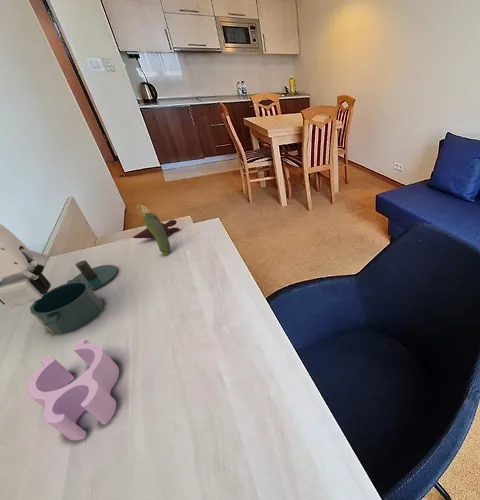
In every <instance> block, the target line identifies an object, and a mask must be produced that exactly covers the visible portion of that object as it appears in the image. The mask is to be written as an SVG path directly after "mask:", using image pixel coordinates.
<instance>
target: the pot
mask: <svg viewBox="0 0 480 500" xmlns="http://www.w3.org/2000/svg"><path fill="white" fill-rule="evenodd" d="M103 307H104V303H103V301H102V300H101V298H100V297H99V296H98V294H97V293H96V292H95V290H93V289H92V288H91V287H90V285H89V284H88V283H87V282H83V281H80V280H79V279H78V278H76V279H73V278H72V279H69V280H67V282H66V283H63V284H61V285H59V286H55V287H53V288H52V289H49V290H48V292H47V293H46V294H43V296H42V298H41V299H39V300H36V301H33V303H32V304H31V306H30V307H29V310H30V314H31V315H32V316H33V317H34V318H35V319H36V320H37V321H38V322H39V323H40V324H41V325H42V326H43V327H44V328H45V329H46V330H47V331H48V332H50V333H51V334H55V335H60V334H67V333H71V332H74V331H76V330H78V329H80V328H82V327H85V326H86V325H88V324H89V323H91V322H92V321H93V320H95V318H97V317H98V316H99V315H100V314H101V312H102V311H103Z"/></svg>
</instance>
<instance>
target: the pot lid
mask: <svg viewBox="0 0 480 500" xmlns="http://www.w3.org/2000/svg"><path fill="white" fill-rule="evenodd" d="M75 266H76V268H77V269H78V271H79V272H80V273H79V274H77V275H75V276H74V277H73V278H72V279H76V278H78V279H79V280H80V281H83V282H87V283H88V284H89V285H90V287H91V288H92V289H93V291H95V290H97V289H99V288H101V287H102V286H105V285H106V284H107V283H109V282H110V281H111V280H112V279H114V278H115V276H116V275H117V274H118V268H117V267H116V266H115V265H111V264H103V265H98V266H94V267H92V266H91V265H90V264H89V263H88V261H87V260H85V259H84V260H80V261H78V262H77V263H75Z"/></svg>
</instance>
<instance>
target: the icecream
mask: <svg viewBox="0 0 480 500" xmlns="http://www.w3.org/2000/svg"><path fill="white" fill-rule="evenodd" d="M177 222H178V221H177V220H175V219H169V220H168V221H167V222H165V223H163V222H161V224H162V226H163V228H164V230H165V232H166V235H167V236H168V234H174V233H177V232H179V231H180V228H179V227H173V226H176V225H177ZM133 239H155V237H154V235H153V234H152V233H151V232H150V231H149V229H148V228H147V227H146V228H144V229H143V230H142V231H140V232H139V233H137V234H135V235H134V236H133Z"/></svg>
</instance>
